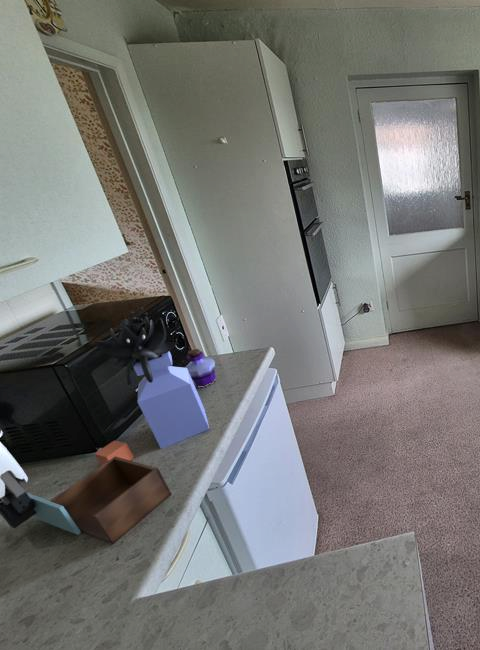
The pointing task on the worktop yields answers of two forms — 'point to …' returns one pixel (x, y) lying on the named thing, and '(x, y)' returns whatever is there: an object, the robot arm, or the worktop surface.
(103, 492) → the crate
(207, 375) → the potion bottle
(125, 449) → the block
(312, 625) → the worktop surface
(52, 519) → the light blue flat panel
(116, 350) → the vase
